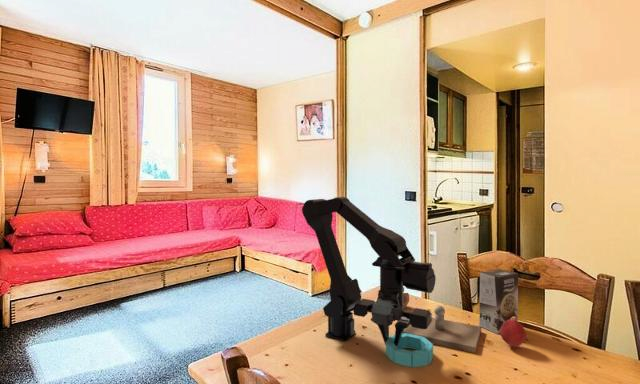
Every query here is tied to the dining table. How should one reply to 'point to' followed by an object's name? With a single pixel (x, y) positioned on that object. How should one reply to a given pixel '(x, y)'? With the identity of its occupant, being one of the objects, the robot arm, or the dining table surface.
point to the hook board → (448, 332)
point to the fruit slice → (405, 298)
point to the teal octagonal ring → (410, 358)
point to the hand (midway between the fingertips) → (391, 346)
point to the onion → (513, 332)
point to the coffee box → (497, 298)
